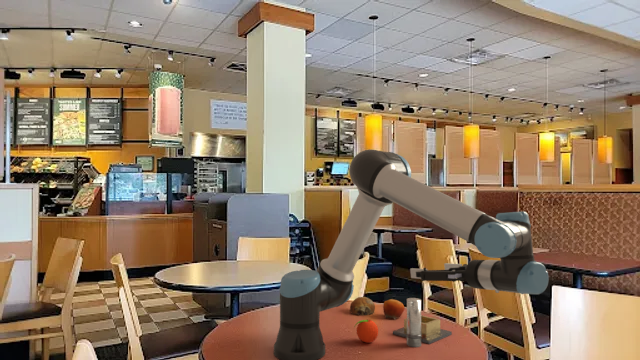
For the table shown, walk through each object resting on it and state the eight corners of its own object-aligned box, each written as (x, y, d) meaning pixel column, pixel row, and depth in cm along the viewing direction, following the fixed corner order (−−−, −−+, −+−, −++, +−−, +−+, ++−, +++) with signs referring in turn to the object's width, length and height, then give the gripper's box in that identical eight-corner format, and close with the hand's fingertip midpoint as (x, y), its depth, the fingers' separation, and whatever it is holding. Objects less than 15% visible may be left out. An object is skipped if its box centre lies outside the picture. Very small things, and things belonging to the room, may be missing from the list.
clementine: (356, 346, 136) (356, 323, 136) (350, 339, 143) (350, 317, 143) (381, 345, 138) (381, 321, 138) (374, 338, 144) (374, 316, 145)
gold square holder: (429, 344, 139) (429, 328, 139) (392, 334, 149) (392, 319, 149) (451, 334, 149) (451, 319, 149) (416, 325, 159) (415, 311, 159)
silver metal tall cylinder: (416, 348, 135) (416, 302, 135) (403, 344, 138) (403, 299, 139) (424, 344, 138) (424, 299, 139) (411, 341, 141) (411, 297, 142)
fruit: (378, 316, 166) (381, 295, 170) (384, 322, 172) (387, 302, 176) (398, 318, 162) (402, 297, 166) (404, 325, 168) (407, 305, 172)
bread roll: (377, 321, 176) (380, 301, 179) (366, 315, 169) (370, 295, 172) (354, 318, 182) (358, 298, 185) (344, 312, 174) (348, 292, 177)
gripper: (453, 296, 108) (397, 288, 126) (519, 283, 120) (459, 277, 139) (449, 265, 109) (395, 262, 127) (515, 255, 121) (457, 253, 140)
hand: (428, 270), depth 133 cm, fingers open, 13 cm apart
